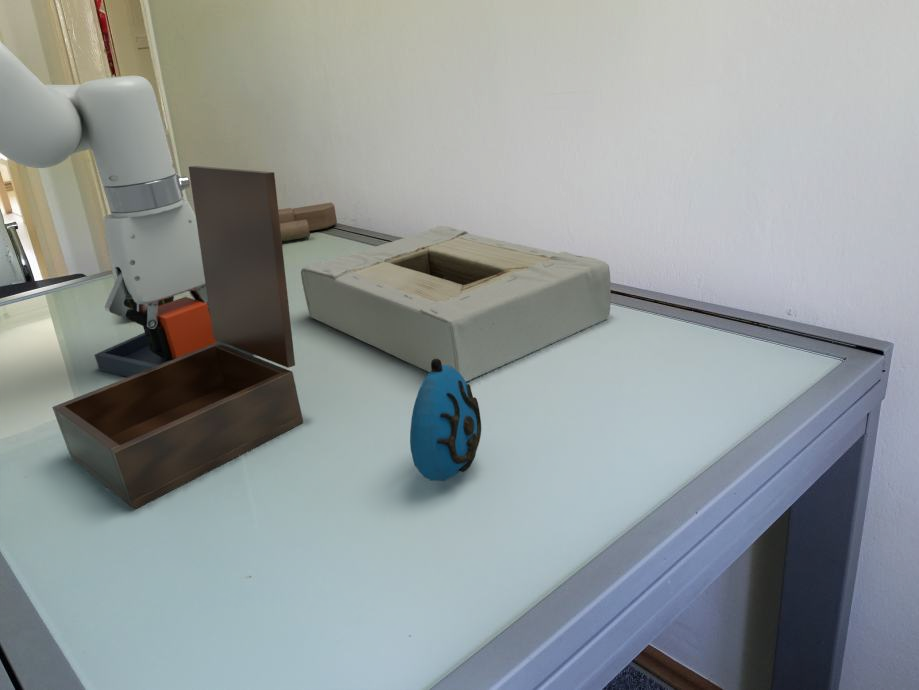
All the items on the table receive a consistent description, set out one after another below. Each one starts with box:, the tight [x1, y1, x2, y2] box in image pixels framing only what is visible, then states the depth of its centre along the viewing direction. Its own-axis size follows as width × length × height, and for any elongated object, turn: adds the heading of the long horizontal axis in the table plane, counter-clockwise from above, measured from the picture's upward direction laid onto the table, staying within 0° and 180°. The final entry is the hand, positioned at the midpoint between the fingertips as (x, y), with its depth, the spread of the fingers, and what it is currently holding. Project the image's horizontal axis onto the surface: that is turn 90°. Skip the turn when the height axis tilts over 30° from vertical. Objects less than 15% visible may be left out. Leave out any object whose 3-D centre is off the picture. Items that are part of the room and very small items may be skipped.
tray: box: [94, 331, 254, 378], centre depth 87 cm, size 16×14×2 cm
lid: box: [188, 165, 296, 369], centre depth 68 cm, size 17×14×1 cm
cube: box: [158, 296, 217, 359], centre depth 86 cm, size 5×5×5 cm
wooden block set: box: [278, 202, 338, 242], centre depth 133 cm, size 17×6×18 cm
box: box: [300, 225, 612, 382], centre depth 88 cm, size 23×8×32 cm
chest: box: [52, 342, 304, 511], centre depth 67 cm, size 17×14×5 cm
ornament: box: [409, 358, 482, 482], centre depth 57 cm, size 8×5×10 cm, turn 156°
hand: (186, 345), depth 87 cm, fingers closed on cube, 5 cm apart
